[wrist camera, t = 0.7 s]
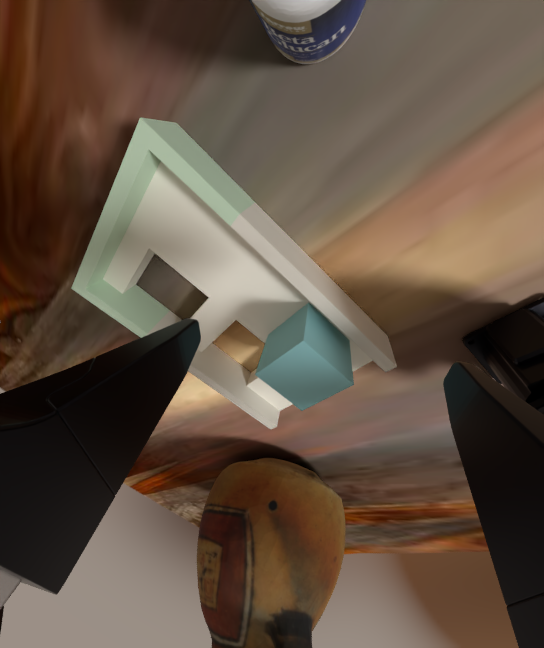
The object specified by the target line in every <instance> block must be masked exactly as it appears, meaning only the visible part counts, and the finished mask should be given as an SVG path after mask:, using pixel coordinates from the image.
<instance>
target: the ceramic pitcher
mask: <svg viewBox="0 0 544 648" xmlns="http://www.w3.org/2000/svg"><path fill="white" fill-rule="evenodd" d="M197 547H198V548H197V571H198V572H197V573H198V588H199V595H200V602H201V608H202V611H203V615H204V618H205V621H206V623H207V625H208V628H209V631H210V634H211V638H212V648H312V638H311V637H312V636H311V635H312V631H313V629H314V628H315V626H316V624H317V622H318V621H319V619H320V617H321V616H322V614H323V612H324V610H325V608H326V606H327V603H328V601H329V599H330V597H331V595H332V593H333V590H334V588H335V585H336V582H337V579H338V576H339V572H340V569H341V564H342V560H343V556H344V547H345V516H344V509H343V504H342V500H341V498H340V496H338V495H337V494H336V492H335V491H334V490H333V489H332V488H331V487H329V486H328V485H327V484H326V483H324V482H323V481H321V479H320V478H319V477H318V476H317V475H316V473H315V472H313V471H310V470H308V469H306V468H304V467H302V466H299V465H297V464H294V463H291V462H288V461H285V460H280V459H275V458H262V459H258V460H252V461H243V462H237V463H233V464H231V465H229V466H228V467H226V468H225V469H224V470H223V471H222V472H221V473H220V474H219V476H218V477H217V479H216V481H215V483H214V484H213V487H212V489H211V491H210V493H209V496H208V499H207V501H206V504H205V507H204V511H203V514H202V519H201V524H200V530H199V537H198V546H197Z"/></svg>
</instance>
